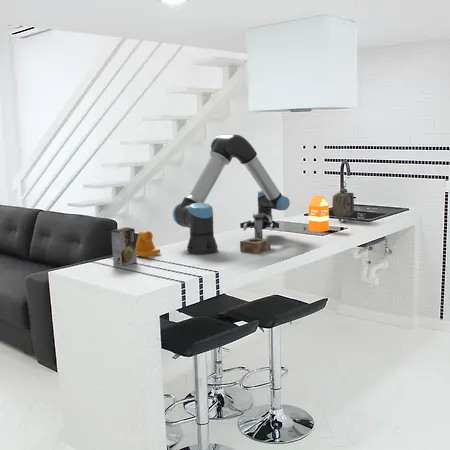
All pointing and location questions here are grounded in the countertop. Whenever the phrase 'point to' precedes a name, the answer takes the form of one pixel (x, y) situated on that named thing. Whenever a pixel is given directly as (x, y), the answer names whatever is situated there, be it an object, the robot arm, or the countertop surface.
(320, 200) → the orange juice
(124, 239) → the coffee box
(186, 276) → the countertop surface
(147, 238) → the bracket
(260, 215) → the steel pin
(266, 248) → the socket block
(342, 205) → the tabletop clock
